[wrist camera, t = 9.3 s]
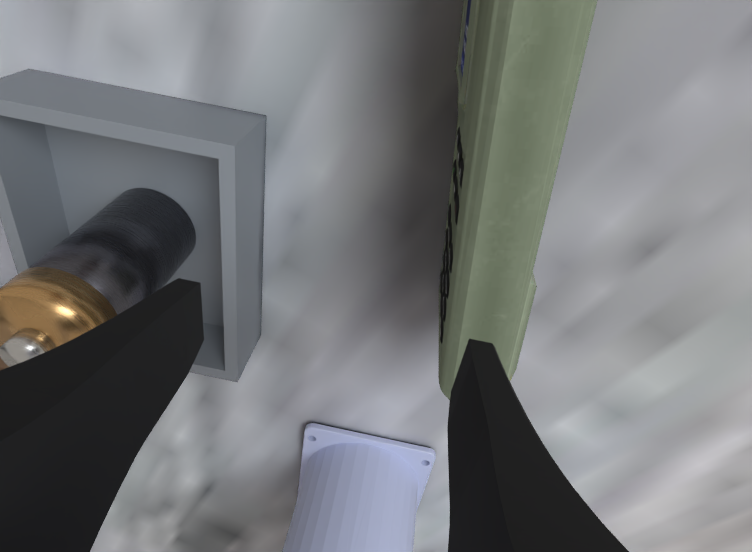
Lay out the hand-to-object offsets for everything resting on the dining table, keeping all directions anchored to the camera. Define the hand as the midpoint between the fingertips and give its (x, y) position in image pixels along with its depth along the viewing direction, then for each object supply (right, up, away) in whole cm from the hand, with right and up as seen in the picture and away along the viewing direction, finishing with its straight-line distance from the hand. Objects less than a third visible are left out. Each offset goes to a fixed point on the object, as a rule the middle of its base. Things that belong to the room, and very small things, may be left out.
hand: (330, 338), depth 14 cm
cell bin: (-9, +4, +11) cm, 15 cm away
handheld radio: (+6, +11, +4) cm, 13 cm away
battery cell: (-9, +4, +10) cm, 14 cm away
